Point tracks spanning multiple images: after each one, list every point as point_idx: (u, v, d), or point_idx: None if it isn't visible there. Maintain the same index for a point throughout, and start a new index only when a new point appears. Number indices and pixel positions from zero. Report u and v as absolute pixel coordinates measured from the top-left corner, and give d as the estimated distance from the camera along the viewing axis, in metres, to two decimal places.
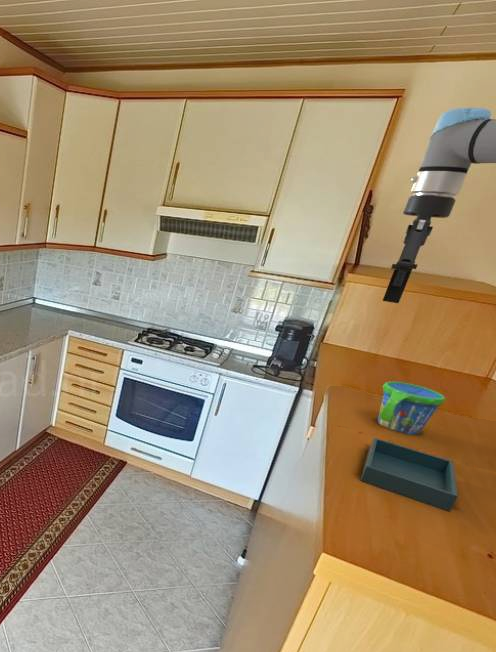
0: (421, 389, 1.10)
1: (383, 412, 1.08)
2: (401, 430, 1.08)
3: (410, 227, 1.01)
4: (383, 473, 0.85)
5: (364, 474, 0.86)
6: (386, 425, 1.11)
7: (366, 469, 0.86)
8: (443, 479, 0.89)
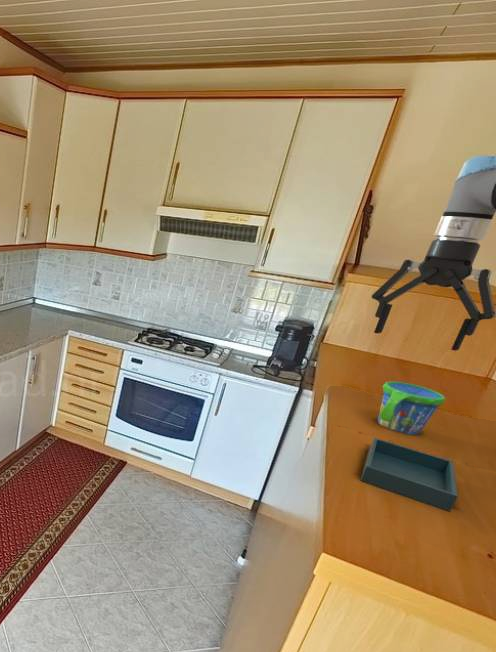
0: (421, 389, 1.10)
1: (383, 412, 1.08)
2: (401, 430, 1.08)
3: (454, 273, 0.99)
4: (383, 473, 0.85)
5: (364, 474, 0.86)
6: (386, 425, 1.11)
7: (366, 469, 0.86)
8: (443, 479, 0.89)
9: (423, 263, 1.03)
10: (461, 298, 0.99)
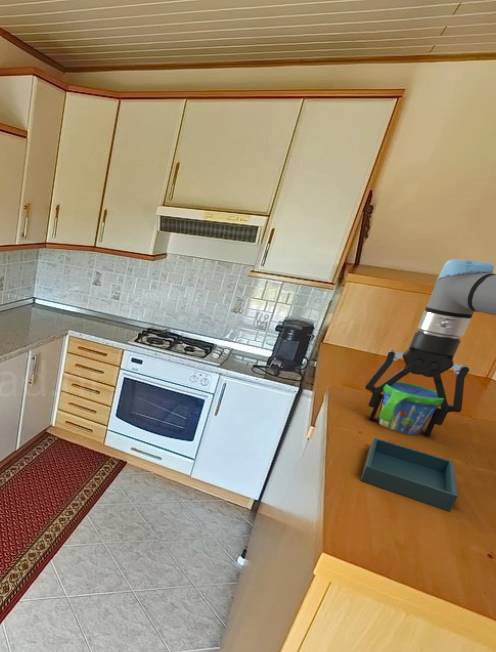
0: (421, 389, 1.10)
1: (383, 412, 1.08)
2: (401, 430, 1.08)
3: (438, 366, 1.04)
4: (383, 473, 0.85)
5: (364, 474, 0.86)
6: (386, 425, 1.11)
7: (366, 469, 0.86)
8: (443, 479, 0.89)
9: (408, 353, 1.07)
10: (437, 390, 1.05)
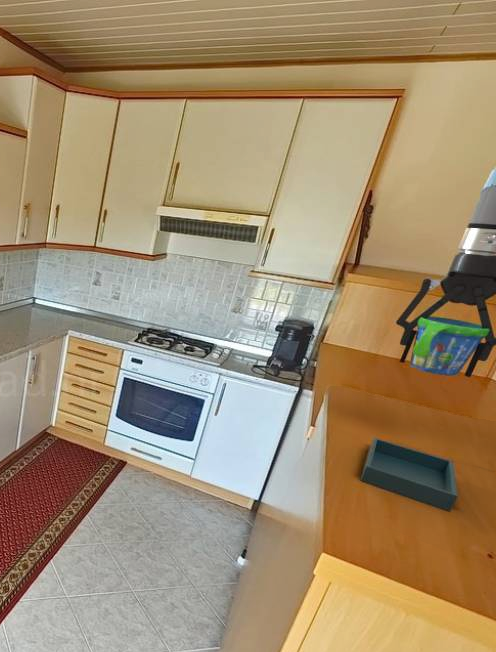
0: (461, 323, 0.97)
1: (417, 347, 0.94)
2: (438, 368, 0.95)
3: (482, 291, 0.90)
4: (383, 473, 0.85)
5: (364, 474, 0.86)
6: (421, 364, 0.97)
7: (366, 469, 0.86)
8: (443, 479, 0.89)
9: (447, 279, 0.94)
10: (482, 319, 0.91)
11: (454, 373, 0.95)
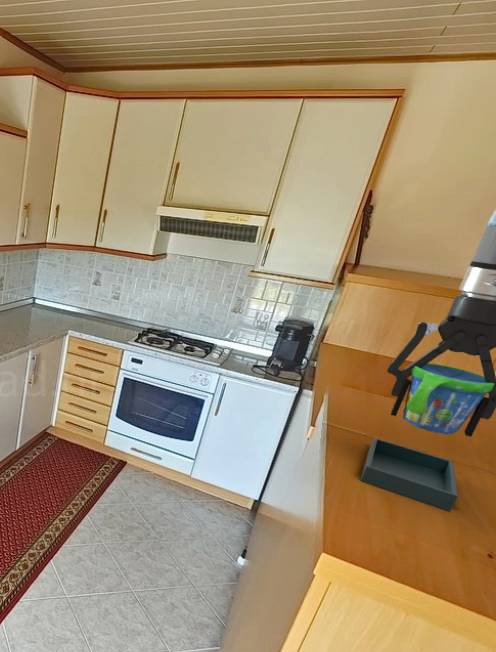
0: (461, 372, 0.84)
1: (412, 402, 0.82)
2: (435, 426, 0.83)
3: (486, 340, 0.78)
4: (383, 473, 0.85)
5: (364, 474, 0.86)
6: (415, 419, 0.85)
7: (366, 469, 0.86)
8: (443, 479, 0.89)
9: (445, 324, 0.81)
10: (485, 372, 0.79)
11: (453, 431, 0.83)
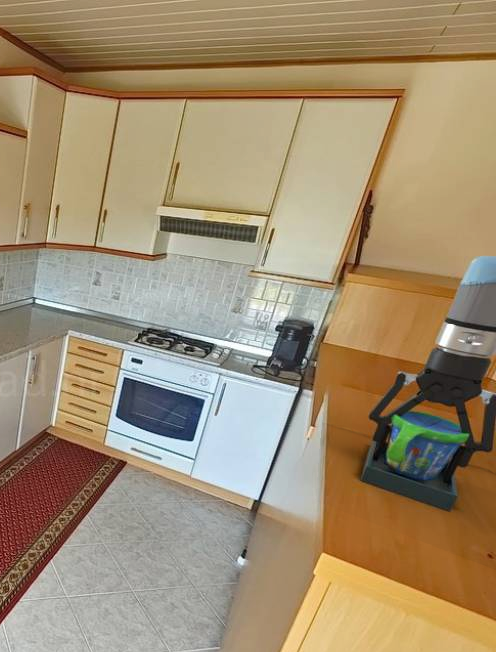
0: (439, 420, 0.88)
1: (391, 451, 0.85)
2: (414, 473, 0.86)
3: (461, 393, 0.81)
4: (383, 473, 0.85)
5: (364, 474, 0.86)
6: (395, 466, 0.88)
7: (366, 469, 0.86)
8: None
9: (423, 376, 0.84)
10: (461, 423, 0.82)
11: (431, 478, 0.86)
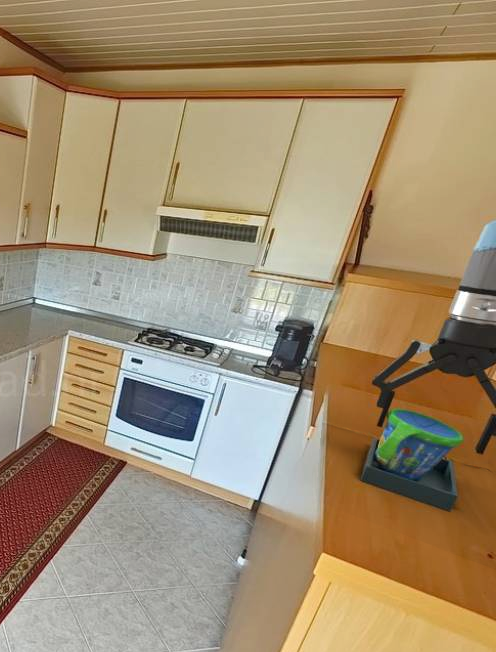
0: (434, 422, 0.88)
1: (383, 448, 0.86)
2: (402, 471, 0.87)
3: (477, 362, 0.79)
4: (383, 473, 0.85)
5: (364, 474, 0.86)
6: (384, 463, 0.89)
7: (366, 469, 0.86)
8: (443, 479, 0.89)
9: (436, 346, 0.82)
10: (487, 392, 0.79)
11: (417, 478, 0.87)
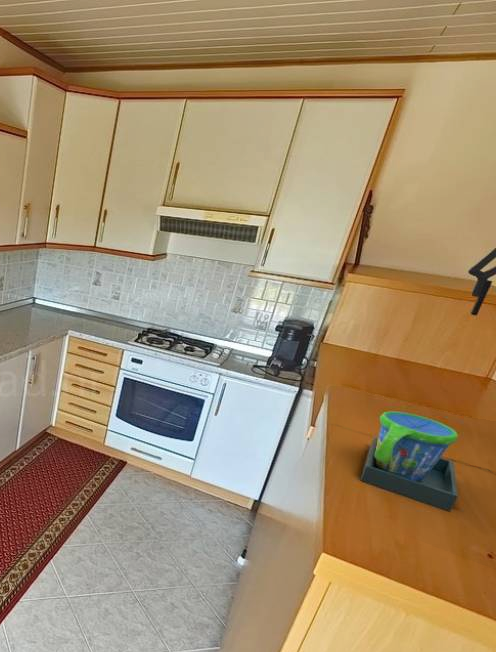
0: (428, 422, 0.89)
1: (379, 451, 0.86)
2: (402, 473, 0.87)
3: None
4: (383, 473, 0.85)
5: (364, 474, 0.86)
6: (383, 466, 0.89)
7: (366, 469, 0.86)
8: (443, 479, 0.89)
9: None
10: None
11: (419, 479, 0.87)
